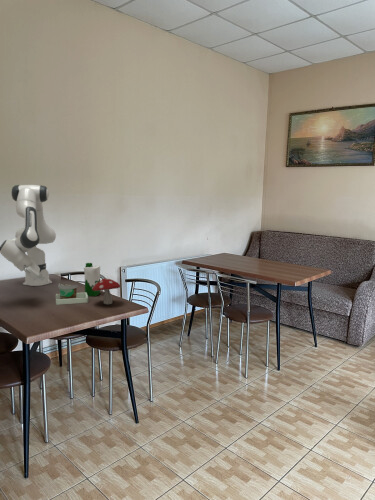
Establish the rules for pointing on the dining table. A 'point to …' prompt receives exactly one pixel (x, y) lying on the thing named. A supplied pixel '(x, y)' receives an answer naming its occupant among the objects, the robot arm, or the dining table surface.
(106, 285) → the decorative mushroom
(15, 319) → the dining table surface
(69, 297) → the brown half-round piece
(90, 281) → the milk carton
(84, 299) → the pale green u-shaped frame
